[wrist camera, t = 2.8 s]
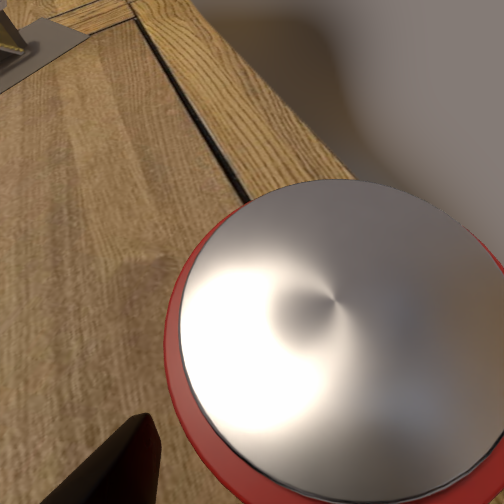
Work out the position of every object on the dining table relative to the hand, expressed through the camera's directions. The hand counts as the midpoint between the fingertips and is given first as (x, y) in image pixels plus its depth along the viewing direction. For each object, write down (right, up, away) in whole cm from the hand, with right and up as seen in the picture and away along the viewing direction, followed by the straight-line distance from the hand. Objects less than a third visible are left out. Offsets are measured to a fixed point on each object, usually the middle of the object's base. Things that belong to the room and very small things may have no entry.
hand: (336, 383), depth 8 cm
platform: (-31, +25, +30) cm, 50 cm away
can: (+1, -4, +8) cm, 8 cm away
